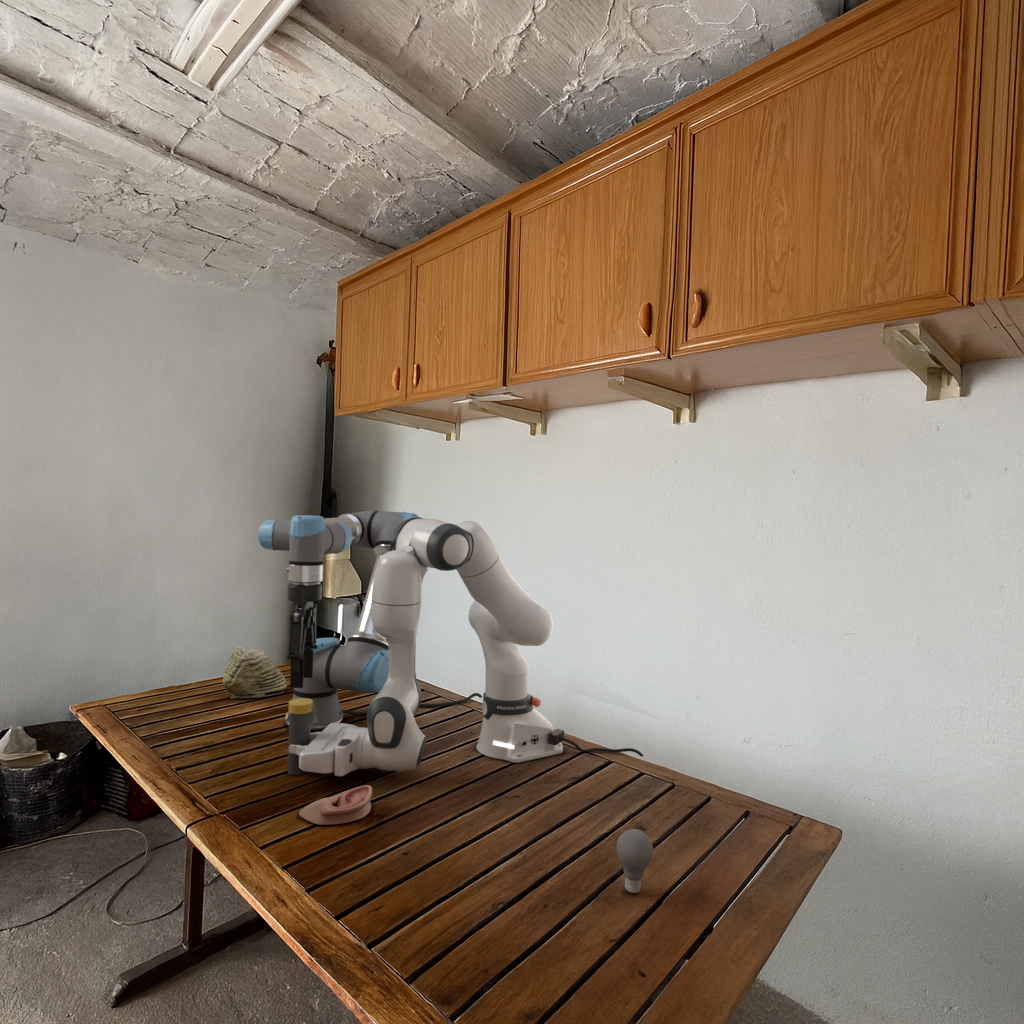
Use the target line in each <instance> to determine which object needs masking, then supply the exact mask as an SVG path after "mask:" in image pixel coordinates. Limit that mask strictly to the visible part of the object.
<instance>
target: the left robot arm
mask: <svg viewBox="0 0 1024 1024" xmlns="http://www.w3.org/2000/svg"><path fill="white" fill-rule="evenodd" d="M414 517H420V516H419V515H418V514H417V513H414V512H406V511H402V512H401V511H384V510H366V511H358V512H352V513H343V514H340V515H339V516H337V517H324V516H321V515H312V514H309V515H308V514H307V515H305V514H304V515H303V514H301V515H300V514H296V515H293V516H292V517H291V518H290V519H288V520H287V519H286V520H285V519H266V520H265V521H263V522H262V523H261V524H260V526H259V528H258V531H257V533H258V535H257V540H258V543H259V545H260V546H261V547H262V548H263V549H265V550H270V551H280V552H281V551H283V552H285V551H286V552H289V554H288V555H289V557H288V558H289V559H288V567H286V572H288V579H287V581H289V583H288V585H287V600H288V601H290V602H295V607H294V608H293V611H292V612H290V615H289V617H290V624H289V625H290V626H289V639H288V653H287V655H286V659H287V660H290V674H289V675H290V676H289V677H290V679H289V680H290V681H289V688H290V689H293V695H292V696H293V697H292V699H291V700H293V699H298V698H308V699H311V700H313V710H312V711H311V732H310V733H315V732H322V731H323V730H324V729H325V728H326V727H327V726H328V725H329V724H331V723H344V715H352V716H364V715H367V710H368V709H367V710H366V709H365V710H363V711H354V710H345V709H342V706H341V702H340V699H339V695H338V690H342V691H351V692H358V693H361V694H364V693H369V694H374V693H375V694H376V693H379V692H380V691H381V689H382V687H383V686H384V684H385V682H386V680H387V678H388V673H389V645H388V641H387V639H386V638H384V637H382V636H381V635H379V634H378V633H377V632H376V631H375V629H374V628H373V624H372V617H371V598H372V587H373V580H374V575H375V570H376V566H377V563H378V560H379V558H380V557H381V556H382V555H383V554H385V553H387V552H389V551H391V550H390V545H391V543H392V541H393V537H394V533H395V531H396V529H397V527H398V526H399V525H400V523H402V522H403V521H404V520H406V519H409V518H414ZM352 546H353V547H359V548H365V549H366V548H367V549H373V552H374V553H375V556H376V560H375V563H374V565H373V569H372V573H371V575H370V580H369V584H368V588H367V591H366V594H365V597H364V601H363V605H362V608H361V612H360V615H359V620H358V622H357V626H356V629H355V633H353V634H351V635H350V636H348V638H347V641H346V645H341V641H340V639H339V638H338V637H318V638H317V609H318V604H317V603H314V602H318V601H320V600H322V599H323V584H322V582H323V581H324V555H332V554H335V555H337V554H340V553H344V552H345V551H348V549H349V548H350V547H352ZM392 551H393V547H392ZM474 697H478V698H479V699H483V695H482V694H481V693H478V692H474V693H472V694H470V695H469V696H467V697H465V698H463V699H459V700H455V701H454V700H453V701H448V702H438V703H437V702H436V703H423V702H421V704H420V707H422V708H436V707H439V708H440V707H447V706H453V705H458V704H462V703H466V702H468V701H469V700H471V699H473V698H474ZM420 707H419V708H420ZM289 717H290V713H289V709H288V711H287V712H286V714H285V716H284V718H285V726H286V728H287V729H289Z"/></svg>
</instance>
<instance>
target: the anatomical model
mask: <svg viewBox="0 0 1024 1024" xmlns="http://www.w3.org/2000/svg"><path fill="white" fill-rule="evenodd" d="M372 795H373V787H372V786H371V785H369V784H367V785H366V784H365V785H361V786H356V787H354V788H351V789H350V788H349V789H347V790H345V791H341V792H340V793H337V794H334V795H332V796H329V797H328V796H327V797H323V798H320V799H317V800H315V801H313V802H311V803H309V804H307V805H306V806H304V807H303V808H301V809H300V810H299V812H298V815H299V817H300V818H302V819H304V820H306V821H307V822H310V823H311V824H315V825H319V826H328V825H339V824H346V823H351V822H354V821H357V820H361V819H363V818H365V817H366V816H367V815H368V814H369V813H370V812H371V809H372V803H371V798H372V797H373V796H372Z"/></svg>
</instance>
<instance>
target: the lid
mask: <svg viewBox="0 0 1024 1024" xmlns="http://www.w3.org/2000/svg"><path fill="white" fill-rule="evenodd" d="M292 699H293V698H292ZM292 699H290V700H288V710H289V713H291V714H306V713H309V712H311V711H312V710H313V700H311V699H308V698H298V699H293V700H292Z"/></svg>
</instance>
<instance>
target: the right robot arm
mask: <svg viewBox="0 0 1024 1024" xmlns="http://www.w3.org/2000/svg"><path fill="white" fill-rule="evenodd" d="M392 547H393V551H392ZM390 550H391V551H389V552H387V553H385V554H383V555H382V556H381V557H380V558H379V560H378V563H377V566H376V570H375V575H374V580H373V587H372V598H371V617H372V624H373V628H374V629H375V631H376V632H377V633H378V634H379V635H381V636H382V637H384V638H386V641H387V643H388V645H389V673H388V678H387V680H386V682H385V684H384V686H383V687H382V689H381V690H380V691H378V692H377V694H376V696H375V697H373V700H372V701H371V702H370V703H369V705H368V707H367V714H365V715H366V717H365V718H366V726H367V727H363V726H361V727H360V726H357V725H355V724H351V723H344V722H342V723H331V724H329V725H328V726H327V727H326V728H325V729H324V730H323V731H318V732H310V744H309V745H308V746H307V745H305V746H300V745H299V743H292V744H291V745H290V746H289V753H292V754H297V755H299V768H300V769H301V770H303V771H307V773H315V774H332V773H333V774H334V776H335V777H344V776H346V775H347V774H349V773H351V772H354V771H357V770H358V769H359V770H368V769H378V770H380V771H385V772H386V771H387V772H408V771H413V770H415V769H417V768H418V767H419V766H420V764H421V762H422V760H423V757H424V754H425V751H426V747H427V736H426V735H425V734H424V733H423V731H421V729H420V728H419V725H418V723H417V721H416V719H415V716H414V715H415V714H416V712H417V711H419V708H420V704H421V703H422V700H423V694H422V690H421V689H422V688H421V686H420V684H419V681H418V679H417V674H416V650H417V649H416V647H417V646H416V642H417V634H418V629H419V623H420V618H421V611H422V599H423V598H422V597H423V596H422V595H423V581H424V578H425V575H426V573H427V572H428V570H429V568H430V569H436V570H438V571H440V572H441V571H443V572H449V571H455V570H456V571H457V573H458V575H459V576H460V579H461V581H462V582H463V584H464V586H465V588H466V589H467V591H468V593H469V595H470V596H471V597H472V599H473V600H474V601H472V603H471V604H470V607H469V609H468V622H469V624H470V627H471V628H472V629H473V630H474V632H475V633H476V635H477V637H478V640H479V642H480V646H481V650H482V653H483V658H484V663H485V680H484V681H485V683H484V687H485V688H484V692H483V694H482V702H481V703H482V704H481V712H482V722H481V727H480V728H481V729H480V733H479V737H478V739H477V743H476V746H475V749H476V751H478V752H479V753H480V754H482V755H483V756H486V757H489V758H493V759H498V760H503V761H508V762H510V763H515V764H518V763H523V762H528V761H532V760H537V759H541V758H546V757H550V756H555V755H559V754H563V752H564V745H563V742H565V743H567V744H570V745H572V746H574V747H575V748H576V749H577V750H578V751H579V752H580V753H591V752H604V753H625V752H632V753H635V754H636V755H638V756H640V757H644V754H643V753H642V752H641V751H640V750H638V749H636V748H633V747H632V748H631V747H623V748H604V747H593V748H582V747H581V746H580V745H578V743H576V742H575V741H573V740H570V739H569V738H566V737H565V729H560V728H556V729H554V727H553V724H552V723H551V721H549V720H548V719H547V718H546V717H545V716H544V715H543V714H542V713H541V712H539V711H538V710H537V709H536V708H539V707H540V706H541V704H542V702H541V699H539V698H538V697H535V696H533V695H532V694H530V693H528V692H529V674H530V673H529V671H530V670H529V668H530V667H529V664H528V662H527V660H526V659H525V658H524V657H523V655H522V654H521V652H520V649H519V647H518V646H522V647H539V646H542V645H544V644H545V643H546V642H547V641H548V640H549V639H550V637H551V635H552V632H553V628H554V622H553V621H554V620H553V617H552V614H551V612H550V611H549V610H548V609H547V608H546V607H544V606H542V605H541V604H539V602H537V601H535V599H533V597H531V596H530V595H529V594H528V593H527V591H526V590H525V589H523V587H522V586H521V585H520V584H519V582H517V581H516V579H515V578H514V577H513V576H512V574H511V573H510V571H509V569H508V567H507V566H506V563H505V562H504V559H503V558H502V556H501V555H500V552H499V551H498V548H497V547H496V545H495V543H494V541H493V540H492V539H491V538H490V536H489V535H488V533H487V531H485V529H484V528H483V526H481V525H480V524H479V523H478V522H475V521H473V520H465V521H461V522H458V523H456V524H454V523H450V522H446V521H443V520H440V519H436V518H424V517H420V516H419V517H414V518H409V519H406V520H404V521H403V522H402V523H400V525H399V526H398V527H397V529H396V531H395V533H394V537H393V541H392V543H391V545H390ZM534 707H535V708H534Z"/></svg>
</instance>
